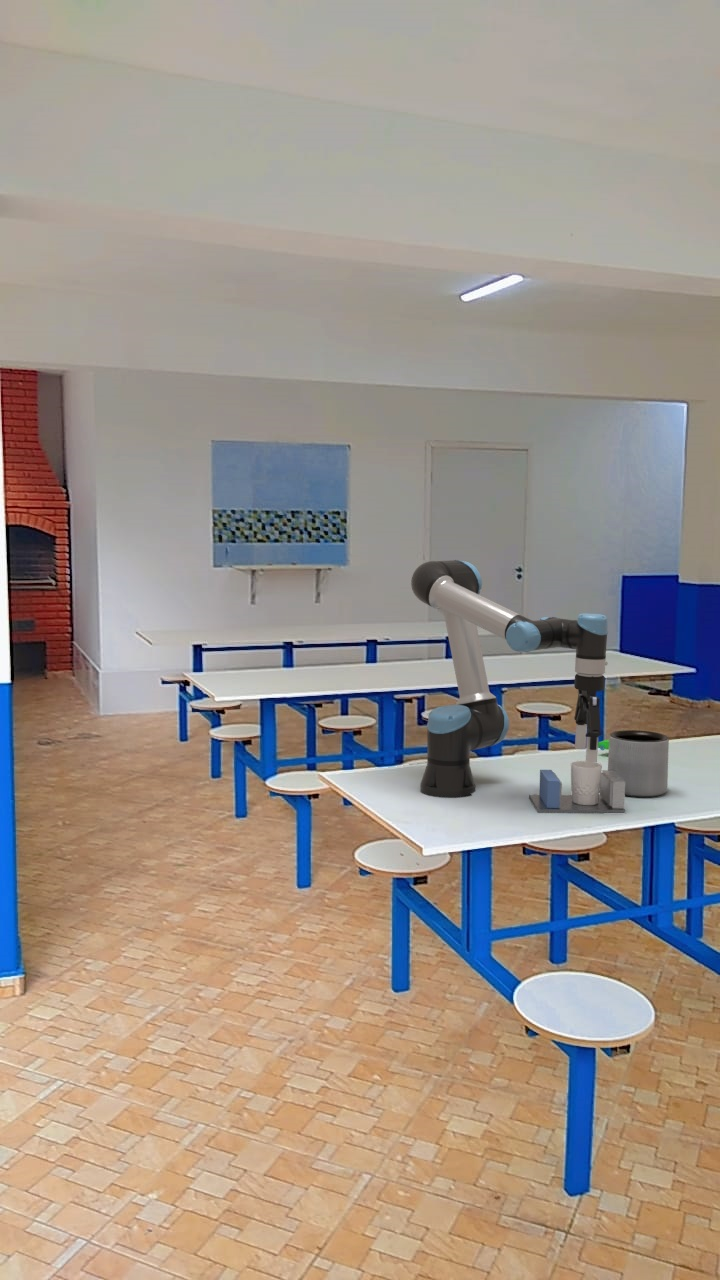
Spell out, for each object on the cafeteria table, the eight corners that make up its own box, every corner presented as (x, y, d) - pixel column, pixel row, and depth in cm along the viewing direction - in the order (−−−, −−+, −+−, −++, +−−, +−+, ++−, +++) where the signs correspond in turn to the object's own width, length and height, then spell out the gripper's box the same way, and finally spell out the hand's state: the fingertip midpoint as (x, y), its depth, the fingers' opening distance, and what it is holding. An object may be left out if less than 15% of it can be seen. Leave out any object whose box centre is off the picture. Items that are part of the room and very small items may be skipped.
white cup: (571, 805, 258) (572, 767, 257) (568, 797, 266) (569, 760, 265) (602, 806, 257) (603, 768, 256) (598, 798, 265) (599, 761, 264)
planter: (649, 782, 287) (651, 728, 285) (678, 797, 271) (680, 740, 269) (596, 785, 283) (598, 730, 281) (623, 800, 268) (625, 742, 266)
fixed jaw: (609, 808, 255) (610, 781, 254) (599, 796, 267) (600, 770, 266) (624, 808, 255) (625, 781, 254) (612, 796, 267) (613, 770, 266)
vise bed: (537, 813, 255) (537, 809, 254) (529, 798, 268) (529, 794, 268) (625, 814, 254) (625, 810, 254) (611, 799, 268) (611, 795, 268)
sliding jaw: (547, 807, 255) (547, 780, 255) (539, 795, 267) (540, 769, 267) (561, 808, 255) (562, 781, 255) (552, 795, 267) (553, 769, 266)
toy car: (637, 751, 327) (638, 731, 326) (627, 755, 322) (627, 734, 321) (607, 746, 335) (608, 727, 334) (596, 749, 330) (597, 729, 329)
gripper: (616, 682, 245) (611, 767, 248) (593, 667, 270) (589, 744, 273) (585, 682, 245) (581, 767, 248) (565, 666, 270) (562, 743, 273)
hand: (585, 755), depth 260 cm, fingers open, 13 cm apart
